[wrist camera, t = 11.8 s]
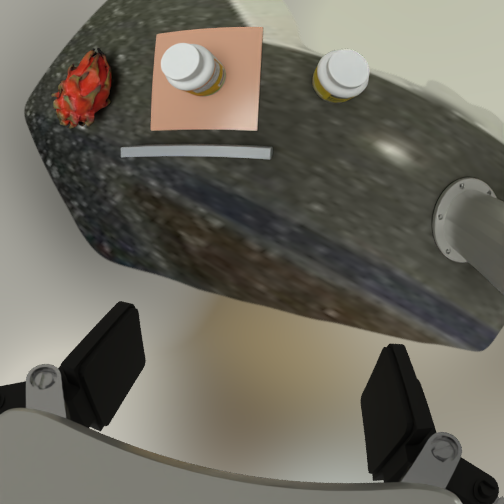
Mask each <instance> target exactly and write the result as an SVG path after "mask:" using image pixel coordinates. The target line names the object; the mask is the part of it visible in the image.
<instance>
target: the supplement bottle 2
mask: <svg viewBox="0 0 504 504" xmlns="http://www.w3.org/2000/svg"><path fill="white" fill-rule="evenodd" d="M368 80H369V66H368V63H367V61H366V59H365V58H364V57H363V56H362V55H361V54H360V53H358V52H356V51H353V50H351V49H341V50H334V51H331V52H329V53H327V54H325V55H324V56H323V57H322V58H321V60H320V61H319V63H318V65H317V67H316V70H315V72H314V74H313V78H312V84H313V88H314V90H315V92H316V93H317V95H318V96H319V97H320V98H322V99H323V100H325V101H327V102H330V103H342V102H345V101H347V100H349V99H351V98H353V97H355V96H357V95H359V94H360V93H361V92H362V91H363V90H364V89H365V88H366V86H367V84H368Z"/></svg>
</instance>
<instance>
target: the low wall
mask: <svg viewBox="0 0 504 504" xmlns="http://www.w3.org/2000/svg"><path fill="white" fill-rule="evenodd" d="M272 154H273V147H269V146H252V145H228V144H153V145H136V146H129V147H122V148H121V157H141V156H212V157H239V158H257V159H271V157H272Z"/></svg>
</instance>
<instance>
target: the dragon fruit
mask: <svg viewBox="0 0 504 504" xmlns="http://www.w3.org/2000/svg"><path fill="white" fill-rule="evenodd" d="M94 50H95V49H94V48H93V50H91V51H89V52H87V53H86V55H85V56H84V57H83V59H82V61H81V62H80V64H79V66H78V67H74V64H72V65H71V66H70V67H69V68H68V76H67V79H66V81H65V80H63V81H61V83H60V84H59V85H58V90H59V92H57V93H54V94H52V96H56V97H57V99H56V100H55V101H54V103H53V108H54V109H57V110H56V115H57V117H58V119H59V121H60V124H62V125H64V126H67V125H68V124H71V125H70V127H67V128H69V129H70V128H74V127H76V126H77V125H78V123H79V125H81V126H84V125H85V124H86V125H87V126H90V125H91V124H92V123H94V117H95V116H94V114H95V112H97V111H98V110H100V109H101V108H104V107H106V106H107V105H109V104H110V100H109V99H108V96H109V93H110V88H111V83H112V74H111V67H109V65H108V62H107V60H106V56H105V54H104V53H103V52H102V51H101V50H100V48H97V50H98V52H99V53H96V52H94ZM96 54H97V55H96ZM95 55H96V56H95ZM100 55H101V56H100ZM93 56H95V57H93ZM79 121H81V122H79Z"/></svg>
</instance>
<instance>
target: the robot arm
mask: <svg viewBox="0 0 504 504" xmlns="http://www.w3.org/2000/svg"><path fill="white" fill-rule="evenodd" d="M438 215H439V216H438ZM432 229H433V236H434V240H435V242H436V245H437V247H438V248H439V250H440V251H441V252H442V253H443V254H444V255H445V256H446V257H447V258H449V259H450V260H452V261H455V262H461V263H463V262H469V263H470V264H471V265H472V266H473V267H474V268H475V269H477V270H478V271H479V272H480V273H481V274H482V275H483V276H484V277H485V278H486V279H487V280H488V281H489V282H490V283H492V284H493V285H494V286H495V287H496V288H497V289H498V290H499V291H500V292H501V293H502V294H503V295H504V202H503V201H501V200H499V199H497V198H496V195H495V194H494V192H493V190H492V189H491V188H490V187H489V185H487V184H486V183H485V182H483V181H481V180H479V179H475V178H472V177H465V178H461V179H458V180H456V181H455V182H453V183H452V184H450V185H449V186H448V187H447V188H446V189H445V190H444V191H443V193H442V194H441V196H440V198H439V199H438V201H437V204H436V206H435V209H434V214H433V221H432ZM144 366H145V354H144V347H143V341H142V335H141V328H140V321H139V313H138V310H137V309H136V308H135V306H134V305H133V304H130V303H126V302H122V301H120V302H118V303H117V304H116V305H115V306H114V307H113V308H112V309H111V310H110V311H109V312H108V313H107V314H106V315H105V316H104V317H103V318H102V320H101V321H100V322H99V323H98V324H97V325H96V326H95V327H94V328H93V329H92V330H91V331H90V332H89V334H88V335H87V336H86V337H85V338H84V339H83V340H82V341H81V342H80V343H79V344H78V345H77V346H76V347H75V349H74V350H73V351H72V352H71V353H70V354H69V355H68V356H67V357H66V359H65V360H64V361H63V362H62V363H61V366H60V367H59V368H57V367H55V366H54V365H50V364H42V365H38V366H36V367H34V368H33V369H31V370H30V371H29V373H28V375H27V377H26V381H25V382H20V383H15V384H10V385H4V386H0V504H504V498H503V497H501V498H499V497H498V493H499V487H498V484H497V482H496V480H495V479H494V478H493V477H492V476H490V475H489V474H487V473H485V472H483V471H482V470H481V469H479V468H477V467H476V466H474V465H472V464H471V463H469V462H468V461H466V460H465V459H463V458H461V454H462V447H461V444H460V442H459V441H458V439H457V438H456V437H455V436H453V435H451V434H449V433H446V432H438V433H436V430H435V426H434V423H433V420H432V417H431V413H430V410H429V407H428V404H427V401H426V398H425V395H424V392H423V389H422V387H421V384H420V382H419V380H418V379H417V378H416V375H415V372H414V370H413V366H412V364H411V361H410V358H409V356H408V353H407V350H406V348H405V346H404V345H403V344H389V345H388V346H387V347H384V348H383V349H382V352H381V354H380V356H379V359H378V361H377V364H376V366H375V368H374V370H373V372H372V374H371V377H370V379H369V381H368V383H367V385H366V387H365V389H364V391H363V393H362V396H361V409H362V417H363V425H364V433H365V441H366V452H367V462H368V471H369V473H371V474H372V475H373V481H377V480H384V483H316V482H300V481H288V480H278V479H269V478H262V477H255V476H248V475H243V474H237V473H231V472H226V471H221V470H216V469H211V468H207V467H203V466H199V465H195V464H191V463H187V462H183V461H179V460H176V459H172V458H169V457H166V456H162V455H159V454H156V453H153V452H149V451H147V450H143V449H141V448H138V447H135V446H132V445H129V444H127V443H124V442H121V441H119V440H116V439H114V438H111V437H108V436H106V435H103V434H101V433H99V432H96V431H94V430H92V429H89V427H92V428H94V429H96V430H99V431H101V430H102V429H103V427H104V426H107V425H109V423H110V422H111V420H112V418H113V417H114V415H115V414H116V412H117V410H118V409H119V407H120V405H121V404H122V402H123V400H124V399H125V397H126V395H127V394H128V392H129V391H130V389H131V387H132V386H133V384H134V382H135V380H136V379H137V378H138V376H139V374H140V373H141V371H142V370H143V368H144Z"/></svg>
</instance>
